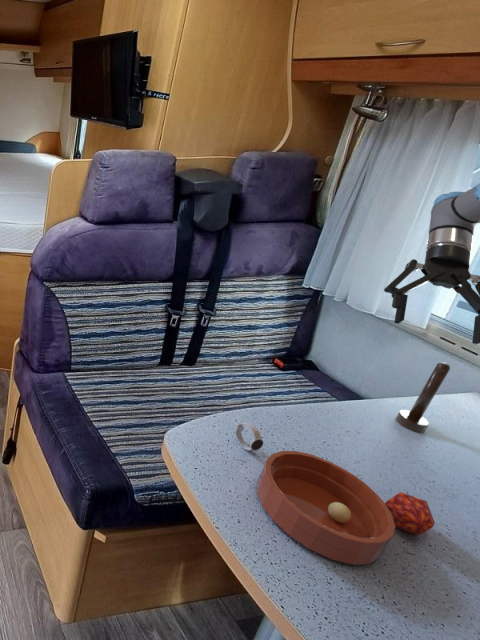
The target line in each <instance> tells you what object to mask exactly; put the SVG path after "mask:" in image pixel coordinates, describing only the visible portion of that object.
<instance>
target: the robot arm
mask: <svg viewBox="0 0 480 640" xmlns="http://www.w3.org/2000/svg"><path fill="white" fill-rule="evenodd" d="M429 220H430V221H429V229H428V237H427V242H426V251H425V257H424V261H423V263H421V262H418V260H417V259H414V258H413V259H410V261H408V262H407V263H406V264H405V267H404V270H403V271H402V272H401V273H400V274H398V275H397V277H395V278H394V279H393V280H392V281H390V283H389V284H388V285H387V286H385V288H384V289H383V292H385V293H386V294H388V293H389V294H391V299H392V303H391V308H392V309H395V315H394V316H395V317H394V321H393V323H394V324H397V325H399V324H400V323H402V322H403V321H405V316H406V311H407V310H406V309H407V302H408V298H409V294H407V293H410V292H411V291H414V290H415V289H417V288H419V287H421V286H424V285H425V284H428V283H430V284H432V286H435V287H443V288H445V289H448V290H450V289H453V290H454V291H455V293H457V294H459V295H460V296H461V297H462V298H463V300H465V301H466V302H467V304H468V305H469V306H470V307H471V309H473V310H474V311H475V312H476V313H477V315H476V316H474V323H473V333H472V344H474V345H478V344H480V274H479V275H478V274H472V273H471V272H470V268H471V267H470V266H471V257H472V249H473V239H474V232H475V231H474V230H475V227H476V225H479V224H480V182H479V183H478V184H476V185H475V186H473V187H471V188H470V189H468V190H466V191H450V192H449V193H442V194H440V195H438V196H437V197H436V198H435V199H434V202H433V205H432V208H431V211H430V219H429ZM418 270H420V272H421V273H422V274H423V276H422V277H419V278H418V279H415V280H414V281H412V282H410V283H408V284H406V285H404V286H402V287H400V288H399V287H398V286H399V285H400V284H401V283H402V282H403V281H404V280H405V279H406V278H408V276H409V275H410V274H412V272H417V271H418ZM469 281H471V283H470V282H469ZM472 285H473V286H474V288H475V289H473V288H472ZM475 290H476V291H475Z"/></svg>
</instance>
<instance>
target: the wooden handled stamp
mask: <svg viewBox="0 0 480 640" xmlns="http://www.w3.org/2000/svg"><path fill="white" fill-rule="evenodd" d="M450 370H451V366H450V364H449V363H447V362H443V361H441V362H438V363H437V364H436V366H435V367H434V369H433V371H432V372H431V374H430V376H429V378H428V379H427V381H426V383H425V385H424V386H423V388H422V390H421V392H420V394H419V395H418V397H417V399H416V401H415V402H414V404H413V406H412V408H411V409H410V410H408V409H400V410H399V412H398V413H397V414H396V416H395V420H396V422H397V423H398V424H399V425H401V426H402V427H403V428H405V429H407V430H409V431H412V432H415V433H419V434H421V433H425V432H426V431H427V429H428V427H429V425H430V422H429V420H428V419H427V418H425V417H424V414H425V412H426V411H427V409H428V407H429V405H430V404H431V402H432V400H433V399H434V397H435V395H436V394H437V392H438V390H439V389H440V387H441V385H442V384H443V382H444V380H445V378H446V377H447V375H448V373H449V372H450Z"/></svg>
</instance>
